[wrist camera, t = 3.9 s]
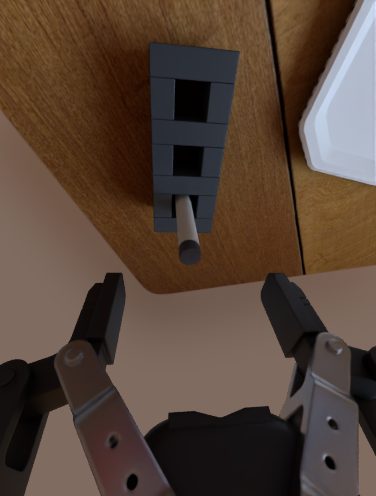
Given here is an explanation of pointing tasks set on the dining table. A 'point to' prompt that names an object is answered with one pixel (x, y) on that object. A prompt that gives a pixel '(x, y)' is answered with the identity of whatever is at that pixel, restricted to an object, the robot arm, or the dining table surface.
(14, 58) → the dining table surface
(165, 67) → the pen block
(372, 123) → the plate
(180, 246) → the stylus
